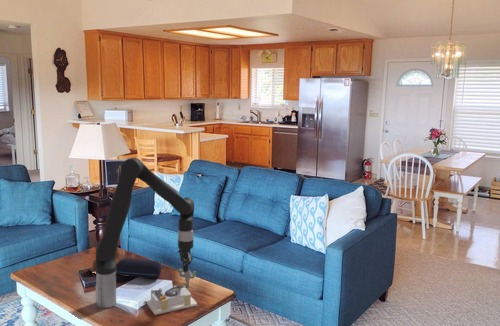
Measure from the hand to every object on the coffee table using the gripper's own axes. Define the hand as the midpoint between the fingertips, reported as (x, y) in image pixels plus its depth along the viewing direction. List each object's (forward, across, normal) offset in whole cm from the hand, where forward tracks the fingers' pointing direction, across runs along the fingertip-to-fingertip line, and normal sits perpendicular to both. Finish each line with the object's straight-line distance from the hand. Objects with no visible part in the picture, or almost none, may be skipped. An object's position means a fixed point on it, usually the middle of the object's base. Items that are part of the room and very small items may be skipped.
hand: (185, 271), depth 224 cm
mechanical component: (+18, -17, +8) cm, 26 cm away
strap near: (+12, -3, -12) cm, 17 cm away
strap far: (+10, -4, 0) cm, 10 cm away
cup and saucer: (+17, -56, -30) cm, 66 cm away
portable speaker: (+18, -40, -12) cm, 46 cm away
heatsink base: (+18, -4, -6) cm, 19 cm away
